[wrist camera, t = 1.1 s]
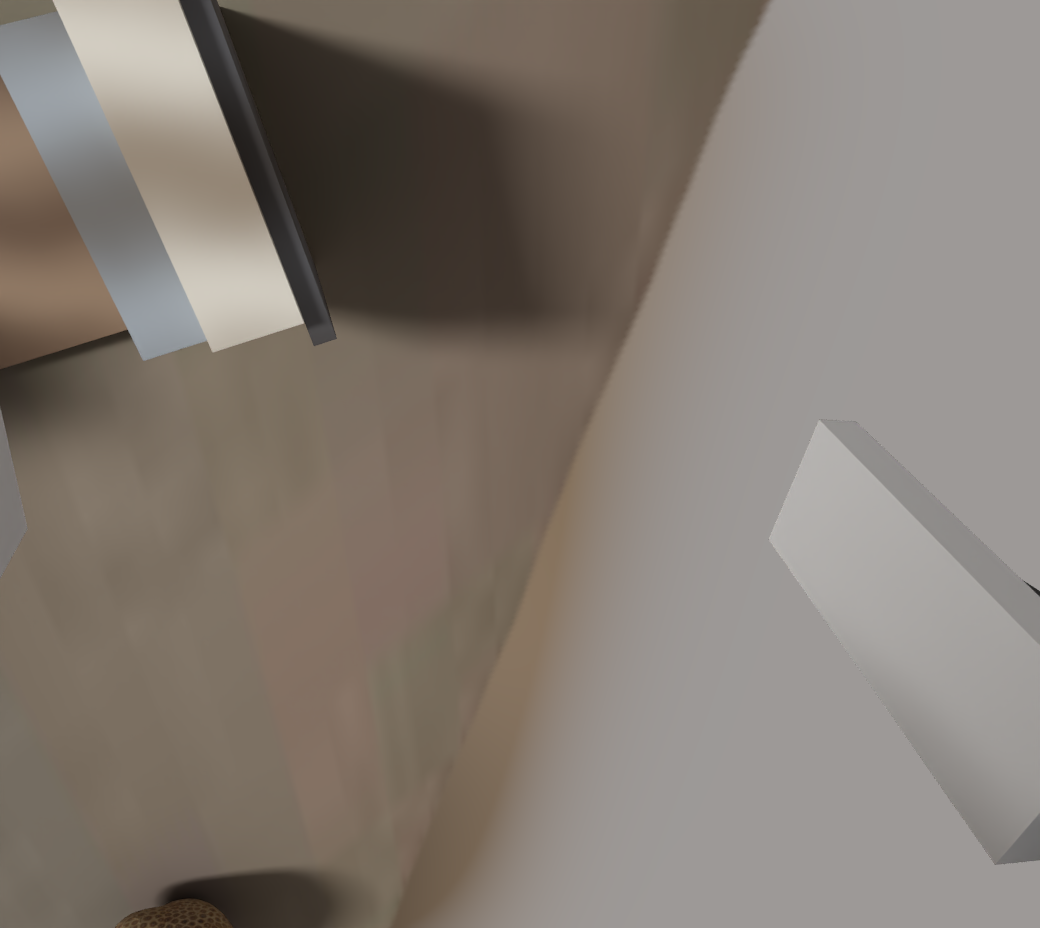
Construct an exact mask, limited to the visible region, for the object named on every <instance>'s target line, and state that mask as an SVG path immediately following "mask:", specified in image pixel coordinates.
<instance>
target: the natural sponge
mask: <svg viewBox="0 0 1040 928" xmlns="http://www.w3.org/2000/svg"><path fill="white" fill-rule="evenodd" d="M115 928H233V926H232V925H231V923H230V922H229V921H228V919H227V918H226V917H225V915H224V914H223V913H222V912H221V911H220V910H218V909H217V908H216V907H214V906H213V905H212V904H210V903H208V902H205V901H202V900H199V899H180V900H176V901H172V902H169V903H168V904H166V905H163V906H160V907H154V908H148V909H144V910H141V911H138V912H135V913H132V914H130V915H128V916H127V917H125V918H124V919H123V920H122V921H120V922H119V923H118V924H117V926H116V927H115Z"/></svg>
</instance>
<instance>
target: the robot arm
mask: <svg viewBox="0 0 1040 928" xmlns="http://www.w3.org/2000/svg"><path fill="white" fill-rule="evenodd" d="M26 530H27V524H26V520H25V515H24V511H23V506H22V502H21V497H20V493H19V488H18V484H17V479H16V475H15V470H14V466H13V462H12V457H11V453H10V448H9V444H8V439H7V435H6V430H5V426H4V421H3V417H2V412H1V408H0V578H1V576H2V574H3V572H4V570H5V569H6V567H7V565H8V563H9V561H10V559H11V558H12V556H13V554H14V552H15V550H16V549H17V547H18V545H19V543H20V541H21V540H22V538H23V536H24V534H25V532H26ZM769 541H770V542H771V544H772V545H773V546H774V548H775V549H776V551H777V552H778V554H779V555H780V557H781V558H782V559H783V560H784V562H785V564H786V565H787V567H788V568H789V569H790V571H791V572H792V574H793V575H794V577H795V578H796V580H797V581H798V582H799V584H800V585H801V587H802V588H803V589H804V591H805V592H806V594H807V595H808V597H809V598H810V600H811V601H812V602H813V604H814V605H815V607H816V608H817V610H818V611H819V612H820V614H821V615H822V617H823V618H824V620H825V621H826V623H827V624H828V625H829V627H830V628H831V630H832V631H833V633H834V634H835V635H836V637H837V638H838V640H839V641H840V642H841V644H842V646H843V647H844V648H845V650H846V651H847V653H848V654H849V656H850V657H851V658H852V660H853V661H854V663H855V664H856V666H857V667H858V668H859V670H860V671H861V673H862V674H863V676H864V677H865V678H866V680H867V682H868V683H869V684H870V686H871V687H872V689H873V690H874V691H875V693H876V694H877V696H878V697H879V699H880V700H881V702H882V703H883V705H884V706H885V707H886V709H887V710H888V712H889V713H890V714H891V716H892V717H893V719H894V720H895V722H896V723H897V725H898V726H899V727H900V729H901V730H902V732H903V733H904V735H905V736H906V737H907V739H908V740H909V742H910V743H911V744H912V746H913V748H914V749H915V750H916V752H917V753H918V755H919V756H920V758H921V759H922V760H923V762H924V763H925V765H926V766H927V768H928V769H929V771H930V772H931V773H932V775H933V776H934V778H935V779H936V781H937V782H938V784H939V785H940V786H941V788H942V789H943V791H944V792H945V794H946V795H947V796H948V798H949V799H950V801H951V802H952V804H953V805H954V807H955V808H956V809H957V811H958V812H959V814H960V815H961V817H962V818H963V819H964V820H965V822H966V824H967V825H968V827H969V828H970V829H971V831H972V832H973V834H974V835H975V837H976V838H977V839H978V841H979V842H980V844H981V845H982V847H983V848H984V850H985V851H986V852H987V854H988V855H989V857H990V858H991V860H992V861H993V863H994V864H995V865H997V864H1006V863H1017V862H1026V861H1036V860H1040V591H1039V590H1037V589H1036V588H1034V587H1032V586H1031V585H1029V584H1028V583H1026V582H1025V581H1023V580H1022V579H1021V578H1020V577H1018V576H1017V575H1016V574H1015V573H1014V572H1013V571H1012V570H1011V569H1010V568H1009V567H1008V566H1007V565H1006V564H1005V563H1004V562H1003V561H1002V560H1000V558H999V557H998V556H996V555H995V554H994V553H993V552H992V551H991V550H990V549H989V548H988V547H987V546H986V545H985V544H984V543H983V542H982V541H981V540H980V539H979V538H978V537H977V536H976V535H975V534H973V533H972V532H971V531H970V530H969V529H968V528H967V527H966V526H965V525H964V524H963V523H962V522H961V521H960V520H959V519H958V518H957V517H956V516H954V514H952V513H951V512H950V511H949V510H948V509H947V508H946V507H945V506H944V505H943V504H942V503H941V502H940V501H939V500H937V498H936V497H935V496H934V495H933V494H931V493H930V492H929V491H928V490H927V489H926V488H925V487H924V486H923V485H922V484H921V483H920V482H919V481H918V480H917V479H916V478H915V477H914V476H913V475H912V474H911V473H910V472H908V471H907V470H906V469H905V468H904V467H903V466H902V465H901V464H900V463H899V462H898V461H897V460H896V459H895V458H894V457H893V456H892V455H891V454H890V453H889V452H888V451H886V450H885V449H884V448H883V447H882V446H881V445H880V444H879V443H878V442H877V441H876V440H875V439H874V438H873V437H872V436H871V435H870V434H868V432H867V431H865V430H864V429H863V428H862V427H861V426H860V425H859V424H858V423H857V422H854V421H837V420H819V421H818V424H817V426H816V428H815V431H814V433H813V436H812V438H811V440H810V442H809V445H808V447H807V449H806V452H805V455H804V457H803V459H802V461H801V464H800V466H799V469H798V471H797V473H796V476H795V478H794V481H793V483H792V485H791V488H790V490H789V493H788V495H787V497H786V499H785V502H784V504H783V507H782V509H781V511H780V514H779V516H778V518H777V521H776V523H775V526H774V528H773V530H772V533H771V535H770V538H769Z"/></svg>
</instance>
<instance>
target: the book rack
mask: <svg viewBox="0 0 1040 928" xmlns="http://www.w3.org/2000/svg"><path fill="white" fill-rule="evenodd" d="M53 2H54V4H55V6H56V9H57V12H53V13H49V14H44V15H40V16H36V17H32V18H28V19H24V20H20V21H16V22H12V23H8V24H4V25H0V369H3V368H6V367H9V366H12V365H16V364H19V363H22V362H25V361H28V360H32V359H35V358H38V357H41V356H44V355H48V354H51V353H54V352H57V351H60V350H64V349H67V348H70V347H73V346H77V345H80V344H83V343H86V342H89V341H93V340H96V339H99V338H102V337H105V336H109V335H112V334H115V333H118V332H122V331H125V330H128V331H129V333H130V335H131V337H132V339H133V341H134V343H135V345H136V347H137V349H138V351H139V353H140V355H141V357H142V359H143V361H145V360H148V359H151V358H154V357H157V356H160V355H163V354H167V353H170V352H173V351H176V350H179V349H182V348H185V347H189V346H192V345H195V344H198V343H201V342H204V341H208V343H209V346H210V348H211V350H212V352H216V351H219V350H222V349H225V348H228V347H231V346H234V345H237V344H241V343H244V342H247V341H250V340H253V339H256V338H259V337H262V336H266V335H269V334H272V333H275V332H278V331H281V330H284V329H287V328H290V327H294V326H297V325H300V324H303V323H304V322H305V324H306V327H307V329H308V332H309V334H310V337H311V340H312V342H313V345H314V346H316V345H319V344H322V343H325V342H328V341H331V340H334V339H337V338H336V334H335V331H334V328H333V324H332V321H331V317H330V314H329V311H328V307H327V304H326V301H325V297H324V294H323V291H322V287H321V284H320V280H319V277H318V274H317V270H316V267H315V264H314V261H313V259H312V256H311V253H310V251H309V248H308V245H307V242H306V240H305V237H304V234H303V232H302V229H301V226H300V224H299V221H298V218H297V215H296V213H295V210H294V207H293V205H292V202H291V199H290V196H289V194H288V191H287V188H286V186H285V183H284V180H283V178H282V175H281V172H280V169H279V167H278V164H277V161H276V159H275V156H274V153H273V150H272V148H271V145H270V142H269V140H268V137H267V134H266V132H265V129H264V126H263V123H262V121H261V118H260V115H259V113H258V110H257V107H256V104H255V102H254V99H253V96H252V94H251V91H250V88H249V86H248V83H247V80H246V77H245V75H244V72H243V69H242V67H241V64H240V61H239V58H238V56H237V53H236V50H235V48H234V45H233V42H232V40H231V37H230V34H229V31H228V29H227V26H226V23H225V21H224V18H223V15H222V12H221V10H220V7H219V5H218V2H217V0H53ZM303 319H304V320H303Z"/></svg>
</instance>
